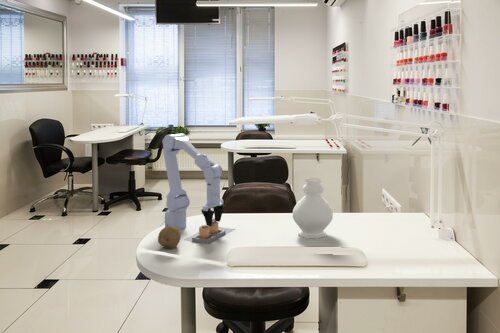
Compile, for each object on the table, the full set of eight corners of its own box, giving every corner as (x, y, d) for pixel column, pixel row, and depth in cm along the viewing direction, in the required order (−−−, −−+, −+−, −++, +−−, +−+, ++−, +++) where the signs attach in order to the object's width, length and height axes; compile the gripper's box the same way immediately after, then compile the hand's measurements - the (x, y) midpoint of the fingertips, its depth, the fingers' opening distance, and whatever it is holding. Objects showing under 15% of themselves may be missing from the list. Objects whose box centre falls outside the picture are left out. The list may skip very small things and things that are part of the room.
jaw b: (206, 235, 229) (206, 222, 228) (210, 232, 233) (210, 219, 232) (216, 236, 228) (215, 223, 227) (219, 234, 232) (219, 220, 231)
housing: (183, 242, 223) (183, 235, 223) (211, 228, 245) (211, 221, 244) (208, 246, 218) (208, 239, 218) (235, 231, 239) (235, 224, 239)
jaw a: (197, 240, 222) (197, 226, 221) (202, 237, 226) (202, 224, 225) (206, 242, 220) (206, 227, 219) (211, 239, 224) (211, 225, 223)
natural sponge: (167, 255, 208) (166, 230, 206) (153, 250, 214) (153, 226, 212) (185, 249, 214) (184, 226, 212) (171, 245, 220) (170, 222, 218)
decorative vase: (330, 241, 226) (332, 184, 221) (289, 238, 230) (290, 182, 225) (333, 229, 243) (335, 176, 239) (295, 227, 247) (296, 175, 242)
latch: (208, 227, 242) (208, 219, 241) (212, 225, 244) (212, 217, 244) (212, 228, 241) (212, 219, 240) (215, 226, 244) (215, 218, 243)
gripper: (213, 197, 219) (213, 228, 222) (229, 190, 232) (229, 220, 234) (198, 195, 222) (198, 226, 225) (215, 189, 235) (215, 218, 237)
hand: (213, 223), depth 230 cm, fingers open, 7 cm apart
